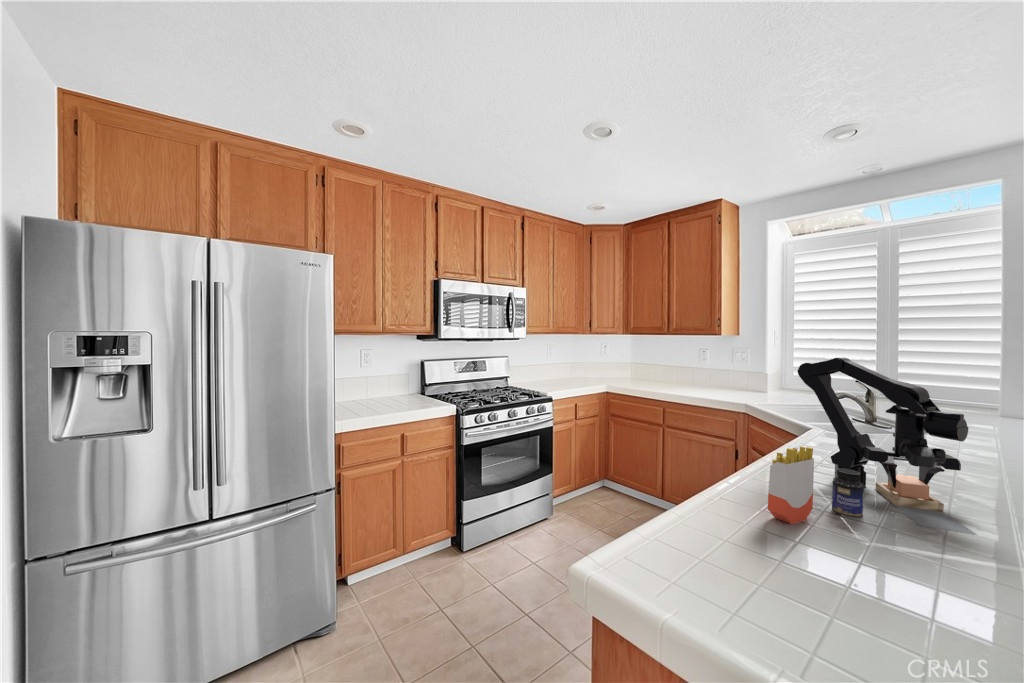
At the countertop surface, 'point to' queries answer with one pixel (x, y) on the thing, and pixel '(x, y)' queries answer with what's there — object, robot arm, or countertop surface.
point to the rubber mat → (933, 519)
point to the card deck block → (910, 487)
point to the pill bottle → (847, 493)
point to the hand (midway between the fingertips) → (907, 489)
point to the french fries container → (791, 485)
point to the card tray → (909, 499)
